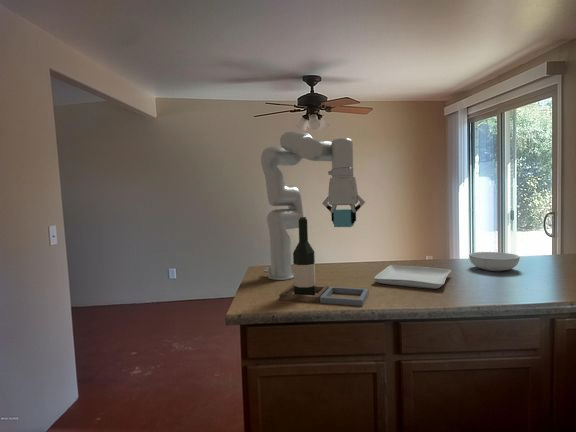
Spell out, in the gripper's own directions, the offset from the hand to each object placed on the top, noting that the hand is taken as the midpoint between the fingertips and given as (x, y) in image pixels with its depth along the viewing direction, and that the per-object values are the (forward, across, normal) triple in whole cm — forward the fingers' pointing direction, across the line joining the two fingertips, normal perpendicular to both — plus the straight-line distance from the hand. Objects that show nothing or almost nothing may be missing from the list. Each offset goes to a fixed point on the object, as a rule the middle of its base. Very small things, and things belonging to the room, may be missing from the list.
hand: (343, 223), depth 134 cm
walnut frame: (+28, -16, 0) cm, 32 cm away
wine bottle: (+28, -16, 0) cm, 32 cm away
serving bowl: (+28, +58, +63) cm, 90 cm away
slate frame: (+28, 0, 0) cm, 28 cm away
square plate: (+28, +23, +33) cm, 49 cm away
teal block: (+1, 0, 0) cm, 1 cm away
